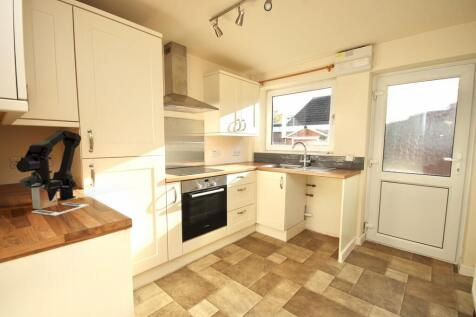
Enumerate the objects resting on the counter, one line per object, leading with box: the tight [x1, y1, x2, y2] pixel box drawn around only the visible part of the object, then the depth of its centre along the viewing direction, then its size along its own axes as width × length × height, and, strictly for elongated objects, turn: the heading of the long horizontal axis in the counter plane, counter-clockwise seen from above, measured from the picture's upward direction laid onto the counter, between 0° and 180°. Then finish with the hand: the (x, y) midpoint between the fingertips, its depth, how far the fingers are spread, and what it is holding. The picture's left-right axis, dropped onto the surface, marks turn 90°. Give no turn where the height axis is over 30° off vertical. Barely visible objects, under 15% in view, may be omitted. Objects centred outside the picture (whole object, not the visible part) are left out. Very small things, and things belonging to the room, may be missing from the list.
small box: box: [30, 186, 58, 210], centre depth 110 cm, size 8×6×10 cm
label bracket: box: [30, 202, 90, 217], centre depth 107 cm, size 16×16×1 cm
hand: (44, 200), depth 110 cm, fingers open, 9 cm apart
